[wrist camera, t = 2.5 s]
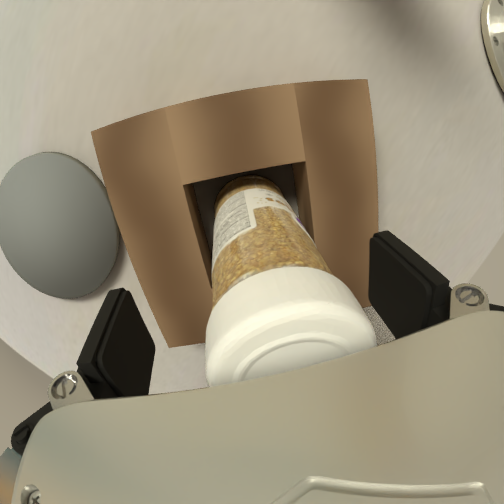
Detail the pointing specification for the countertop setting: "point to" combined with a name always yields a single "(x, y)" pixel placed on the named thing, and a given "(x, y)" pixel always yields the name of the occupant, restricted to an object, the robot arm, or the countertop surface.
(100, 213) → the slate coaster
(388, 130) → the countertop surface
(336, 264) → the walnut pocket block
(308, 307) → the sprinkles bottle
